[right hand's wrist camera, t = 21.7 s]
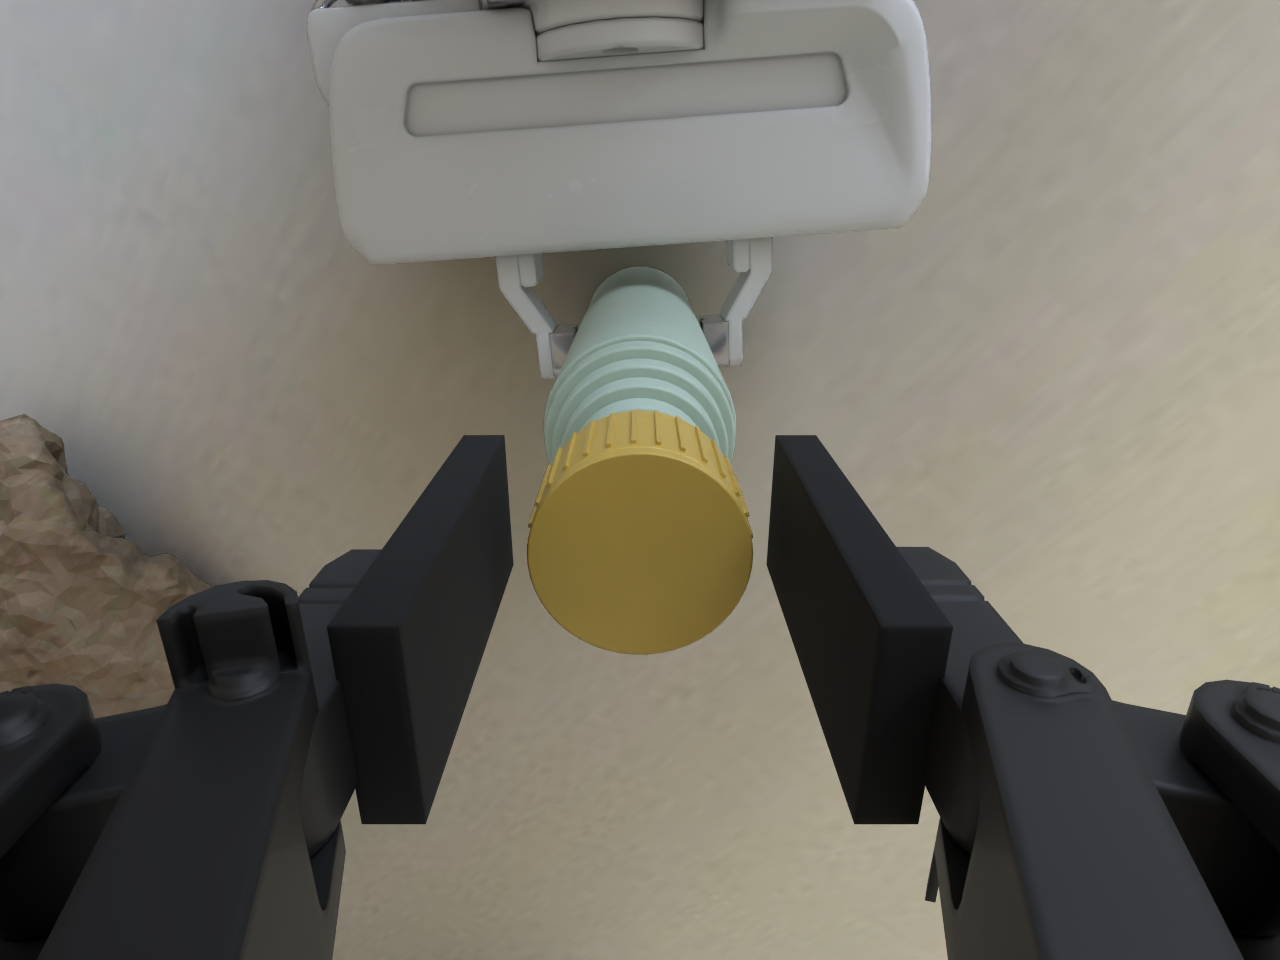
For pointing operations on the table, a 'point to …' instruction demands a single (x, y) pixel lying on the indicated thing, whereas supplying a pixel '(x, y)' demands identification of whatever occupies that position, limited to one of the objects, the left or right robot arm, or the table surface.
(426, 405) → the table surface
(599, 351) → the bottle
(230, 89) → the table surface
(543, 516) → the cap
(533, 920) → the table surface
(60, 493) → the stone
